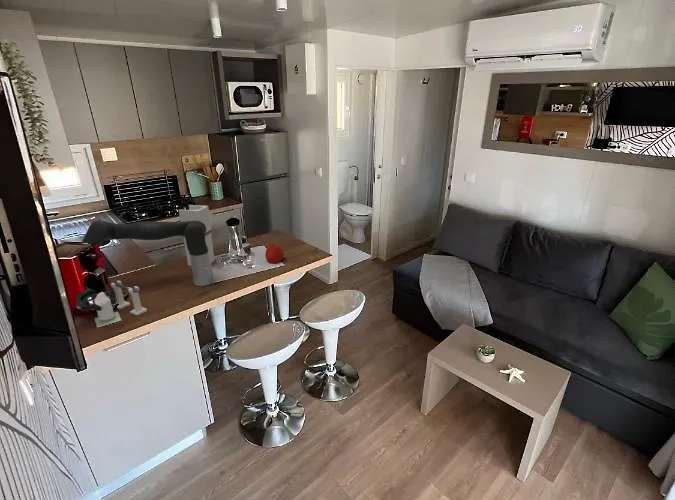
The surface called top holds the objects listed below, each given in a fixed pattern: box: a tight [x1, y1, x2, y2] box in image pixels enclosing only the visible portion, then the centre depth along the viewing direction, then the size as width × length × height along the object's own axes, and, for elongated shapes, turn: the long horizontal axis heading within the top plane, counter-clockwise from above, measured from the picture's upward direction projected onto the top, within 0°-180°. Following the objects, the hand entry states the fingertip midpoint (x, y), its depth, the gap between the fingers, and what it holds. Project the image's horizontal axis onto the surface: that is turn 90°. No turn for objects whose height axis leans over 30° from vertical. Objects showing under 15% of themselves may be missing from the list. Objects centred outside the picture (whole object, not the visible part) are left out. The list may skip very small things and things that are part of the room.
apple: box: [264, 243, 284, 264], centre depth 215 cm, size 11×11×11 cm
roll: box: [95, 291, 114, 320], centre depth 154 cm, size 6×12×6 cm
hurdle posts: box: [110, 280, 148, 317], centre depth 163 cm, size 17×5×12 cm, turn 64°
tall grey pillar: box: [178, 204, 217, 270], centre depth 203 cm, size 11×11×35 cm
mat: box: [94, 311, 123, 329], centre depth 156 cm, size 9×9×1 cm
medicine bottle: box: [242, 236, 252, 255], centre depth 222 cm, size 7×7×12 cm
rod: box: [113, 282, 139, 293], centre depth 161 cm, size 16×1×1 cm, turn 64°
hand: (107, 305), depth 152 cm, fingers closed on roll, 5 cm apart
